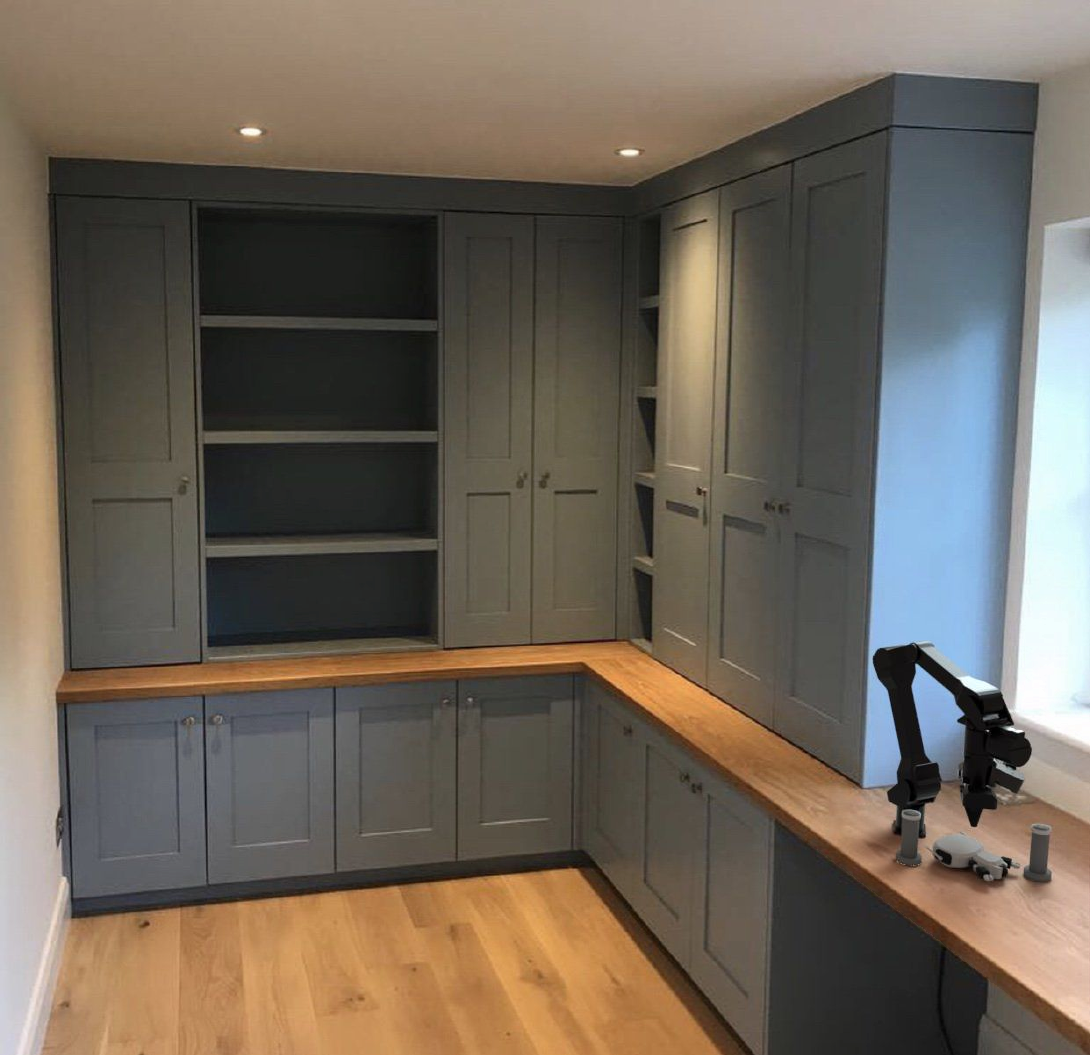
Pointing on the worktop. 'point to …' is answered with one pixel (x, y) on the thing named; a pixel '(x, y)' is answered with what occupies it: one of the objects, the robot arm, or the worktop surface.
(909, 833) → the tube
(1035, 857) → the tube
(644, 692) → the worktop surface
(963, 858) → the robot toy
